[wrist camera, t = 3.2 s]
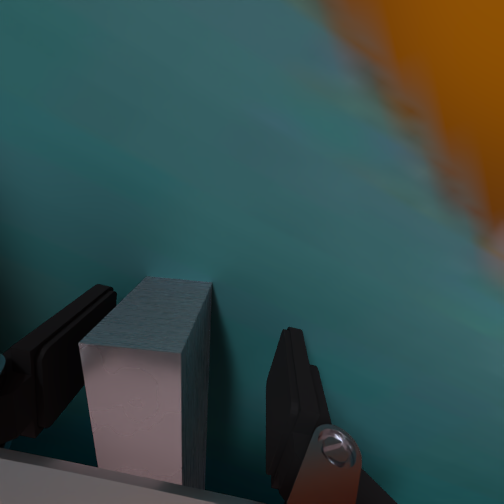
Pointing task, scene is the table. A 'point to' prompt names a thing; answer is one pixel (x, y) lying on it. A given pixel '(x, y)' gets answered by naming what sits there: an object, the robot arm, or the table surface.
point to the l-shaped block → (152, 381)
